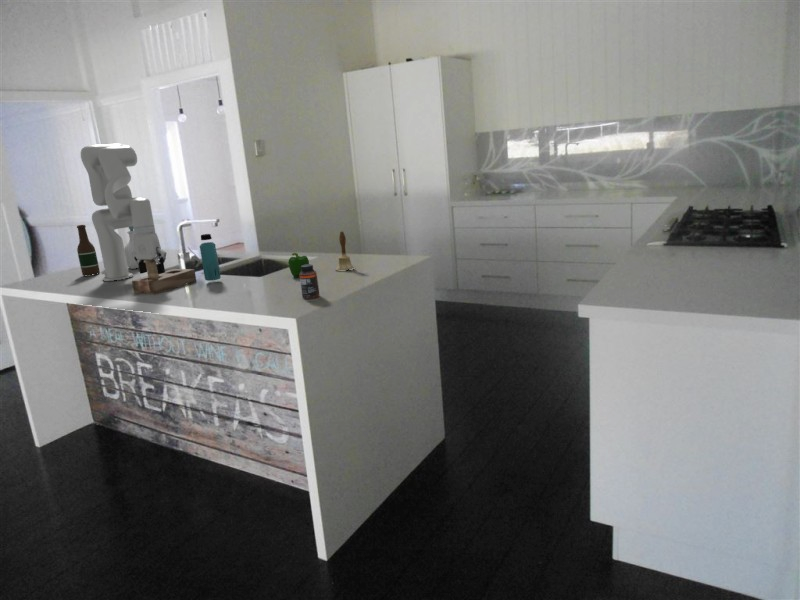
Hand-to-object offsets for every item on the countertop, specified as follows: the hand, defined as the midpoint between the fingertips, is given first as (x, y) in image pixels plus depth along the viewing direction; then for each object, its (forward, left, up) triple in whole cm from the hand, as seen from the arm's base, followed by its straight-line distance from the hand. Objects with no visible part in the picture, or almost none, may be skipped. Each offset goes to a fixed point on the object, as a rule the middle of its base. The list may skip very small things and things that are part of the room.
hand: (152, 273), depth 241 cm
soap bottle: (-53, +40, -7) cm, 67 cm away
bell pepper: (+50, +28, -7) cm, 58 cm away
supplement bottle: (+75, -3, -7) cm, 76 cm away
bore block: (0, +5, -7) cm, 9 cm away
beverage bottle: (+17, +14, -7) cm, 24 cm away
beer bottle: (-66, +23, -7) cm, 70 cm away
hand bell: (+64, +41, -7) cm, 77 cm away
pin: (0, 0, -6) cm, 6 cm away
